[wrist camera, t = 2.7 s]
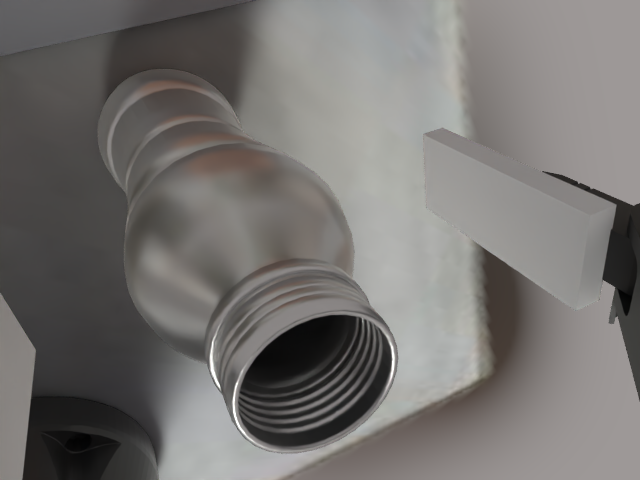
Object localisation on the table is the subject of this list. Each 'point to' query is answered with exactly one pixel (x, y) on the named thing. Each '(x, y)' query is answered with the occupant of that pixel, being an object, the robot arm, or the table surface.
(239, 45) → the table surface
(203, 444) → the table surface
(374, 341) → the silver bottle
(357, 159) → the table surface
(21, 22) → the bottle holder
